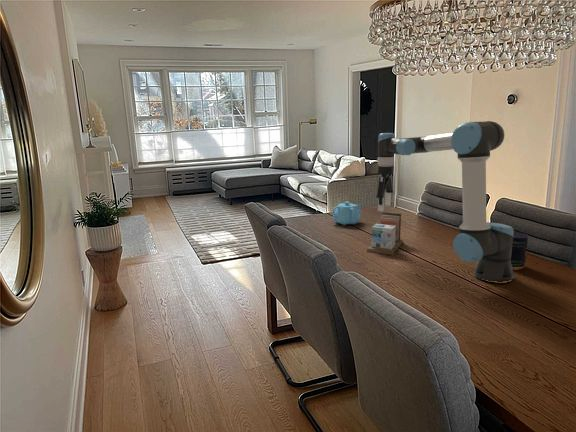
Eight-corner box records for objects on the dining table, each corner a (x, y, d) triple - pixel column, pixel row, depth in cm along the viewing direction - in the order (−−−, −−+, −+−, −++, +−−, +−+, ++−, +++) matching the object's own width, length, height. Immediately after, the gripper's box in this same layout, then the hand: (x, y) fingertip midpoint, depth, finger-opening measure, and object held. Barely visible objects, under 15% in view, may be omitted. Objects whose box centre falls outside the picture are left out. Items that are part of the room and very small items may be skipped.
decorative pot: (328, 224, 275) (328, 202, 272) (341, 218, 288) (341, 198, 285) (352, 228, 266) (353, 205, 263) (364, 221, 279) (364, 200, 276)
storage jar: (522, 263, 202) (525, 232, 199) (527, 271, 193) (531, 238, 189) (498, 262, 205) (501, 230, 201) (502, 269, 196) (505, 237, 192)
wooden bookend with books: (392, 254, 218) (393, 224, 214) (366, 251, 224) (367, 221, 220) (402, 242, 237) (404, 213, 233) (378, 239, 243) (379, 211, 239)
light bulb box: (370, 247, 225) (371, 226, 222) (374, 243, 231) (375, 223, 228) (392, 249, 220) (392, 228, 218) (395, 245, 226) (396, 225, 224)
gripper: (384, 162, 228) (383, 202, 233) (370, 168, 206) (369, 213, 211) (399, 162, 225) (398, 203, 230) (386, 169, 203) (385, 214, 208)
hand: (384, 208), depth 220 cm, fingers open, 13 cm apart
